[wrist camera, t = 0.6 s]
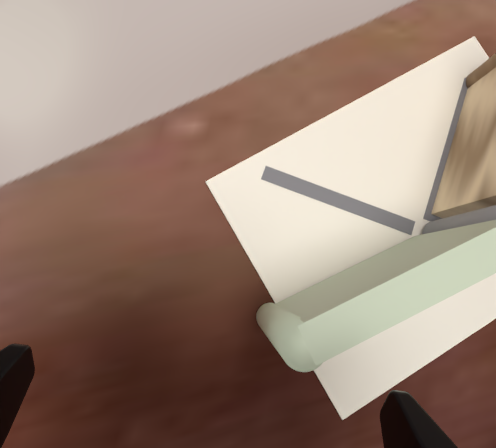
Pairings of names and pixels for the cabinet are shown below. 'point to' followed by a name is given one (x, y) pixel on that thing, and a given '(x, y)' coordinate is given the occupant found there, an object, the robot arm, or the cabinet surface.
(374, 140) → the card
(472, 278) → the folding fence panel
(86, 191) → the cabinet surface
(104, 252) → the cabinet surface
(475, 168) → the brown flat square block
